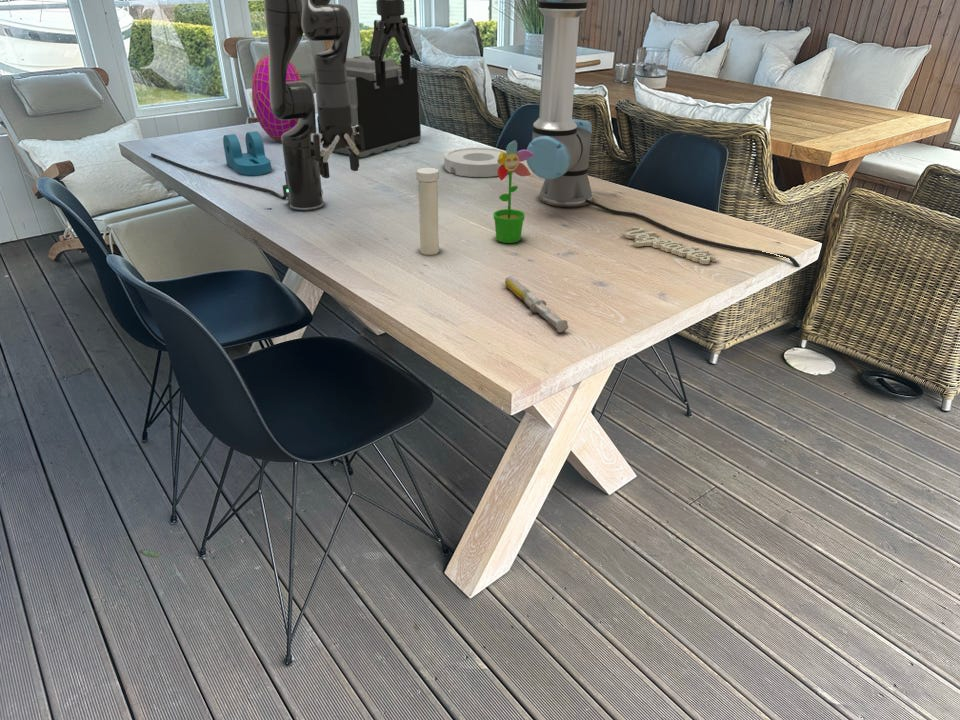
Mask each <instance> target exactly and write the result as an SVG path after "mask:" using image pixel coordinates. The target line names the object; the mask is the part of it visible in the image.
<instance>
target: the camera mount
mask: <svg viewBox="0 0 960 720" xmlns="http://www.w3.org/2000/svg"><path fill="white" fill-rule="evenodd" d="M222 140H223V141H222V143H223V149H224V150H223V151H224V156H225V161H226V165H227V166H228V167H230V168H231V169H232V170H234V171H236V172H237V173H238V174H239V175H244V176H260V175H265V174H268V173H271V172H272V164H271V159H270V158H268V157H267V156H266V153H265V145H264V141H263V139H262V136H261V134H260V132H258V131H247V132H246V133H245V146H246V152H243V151H242V150H243V149H242V146H241V142H240V140H239V138H238V135H236V134H235V133H231V134H224V135H223V138H222Z"/></svg>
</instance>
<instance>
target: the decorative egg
mask: <svg viewBox="0 0 960 720" xmlns="http://www.w3.org/2000/svg"><path fill="white" fill-rule="evenodd" d="M253 70H254V71H253V73H252V77H251V101H252V107H253V110H254V114H255V116H256V118H257V121H258V123H259V125H260V127H261V128H262V130H263V131H264V133H266V135H267V136H268V137H270V138H271V139H273V140H275V141H281V142H282V140H281V137H282V134H283V133H285V132H286V131H288V130H290V129H291V128H293V127H294V126H295V125H296V124H297V123H298V121H299V119H291V120H278V119H277V118H275V116H274V114H273V112H272V109H271V104H270V93H269V54H268V55H265V56H262V57H261V58H260V59H259V60H258V61H257V62H256V65H255V68H254V69H253ZM295 81H302V77H301V75H300V73H299V71H298V69H297V67H296V66H295V65H294V63H293V62H292V61H291V60H290V62H289V65H288V68H287V74H286V82H295Z"/></svg>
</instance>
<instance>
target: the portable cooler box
mask: <svg viewBox="0 0 960 720" xmlns="http://www.w3.org/2000/svg"><path fill="white" fill-rule="evenodd" d="M383 61H385V72H386V87H381V86H377V85H376V72H375V61H372V60H371V59H370V58H369V55H368V56H367V55H356V56H353V57H350V58H349V57H346V70H347V82H348V87H349V93H350V104H351V116H352V123H351V127H352V126H353V125H354V124H356V125H360V126H362V127H363V134H364V142H365V150H364V151H361V152H360V153H359V158H362V159H363V158H366V157H367V158H368V157H369V155H371V154H375V155H377V154H381V153H382V152H383V151H391V150H395V149H396V148H397V147H405V146H407V145H408V144H416V143H418V142H419V141H421V137H422V128H421V97H420V92H419V91H420V89H419V68H418V67H417V66H411V80H402V74H401V64H396V62H395V60H394V59H393V58H385V57H384V58H383ZM310 79H311V87H313V90H314V91H315V92H316V80H315V70H314V71H313V70H312V71H310ZM316 120H317V128H318V130H317V131H318V133H320V131H321V127H320V124H319V119H318V116H316ZM351 140H352V141H353V142H354V136H353V134H352V135H351ZM322 142H323V140H322V139H321V142H320V144H322ZM326 148H328V147H326ZM333 152H335V153H340V154H344V155H348V156H349V154H351V153H350V152H349V151H348V150H347V149H346V148H339V149H337V150H333Z"/></svg>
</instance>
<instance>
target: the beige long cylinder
mask: <svg viewBox="0 0 960 720" xmlns="http://www.w3.org/2000/svg"><path fill="white" fill-rule="evenodd" d="M438 184H439V183H438V180H437V181H433V182H422V181H418V180H417V185H418V186H417V188H418V215H419V216H418V217H419V242H420V243H419V247H420V253H421V254H422V255H425V256H435V255H437V254H438V253H439V252H440V241H439V240H440V237H439V236H440V235H439V191H438V189H439V188H438V186H439V185H438Z"/></svg>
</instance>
